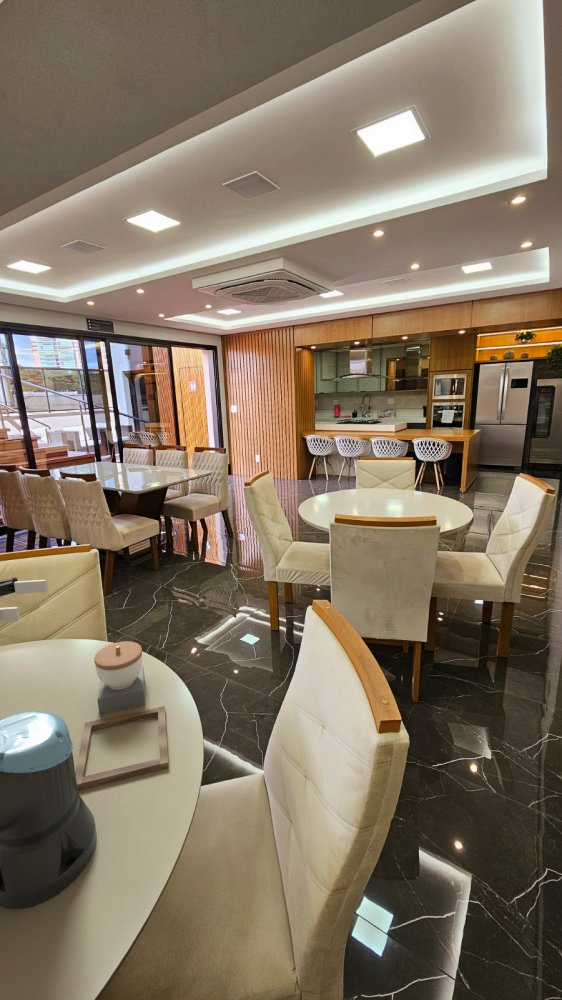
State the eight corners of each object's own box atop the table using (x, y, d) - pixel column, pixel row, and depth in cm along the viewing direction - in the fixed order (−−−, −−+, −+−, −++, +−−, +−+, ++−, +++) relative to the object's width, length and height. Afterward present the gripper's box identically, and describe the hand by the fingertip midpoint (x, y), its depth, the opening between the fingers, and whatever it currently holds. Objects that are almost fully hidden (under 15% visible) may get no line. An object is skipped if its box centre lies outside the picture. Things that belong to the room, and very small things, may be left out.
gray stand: (144, 704, 103) (143, 690, 102) (99, 714, 100) (97, 699, 99) (144, 680, 112) (143, 666, 111) (103, 688, 109) (101, 673, 109)
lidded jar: (125, 700, 99) (121, 663, 97) (87, 691, 102) (82, 655, 100) (153, 672, 109) (150, 638, 106) (118, 665, 112) (114, 632, 110)
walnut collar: (168, 767, 85) (168, 762, 85) (73, 790, 80) (72, 785, 80) (165, 710, 101) (164, 705, 101) (85, 727, 96) (84, 722, 96)
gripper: (-38, 597, 102) (58, 590, 104) (-120, 657, 78) (6, 647, 80) (-43, 567, 100) (53, 561, 103) (-130, 618, 76) (0, 609, 78)
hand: (33, 598), depth 91 cm, fingers open, 13 cm apart
